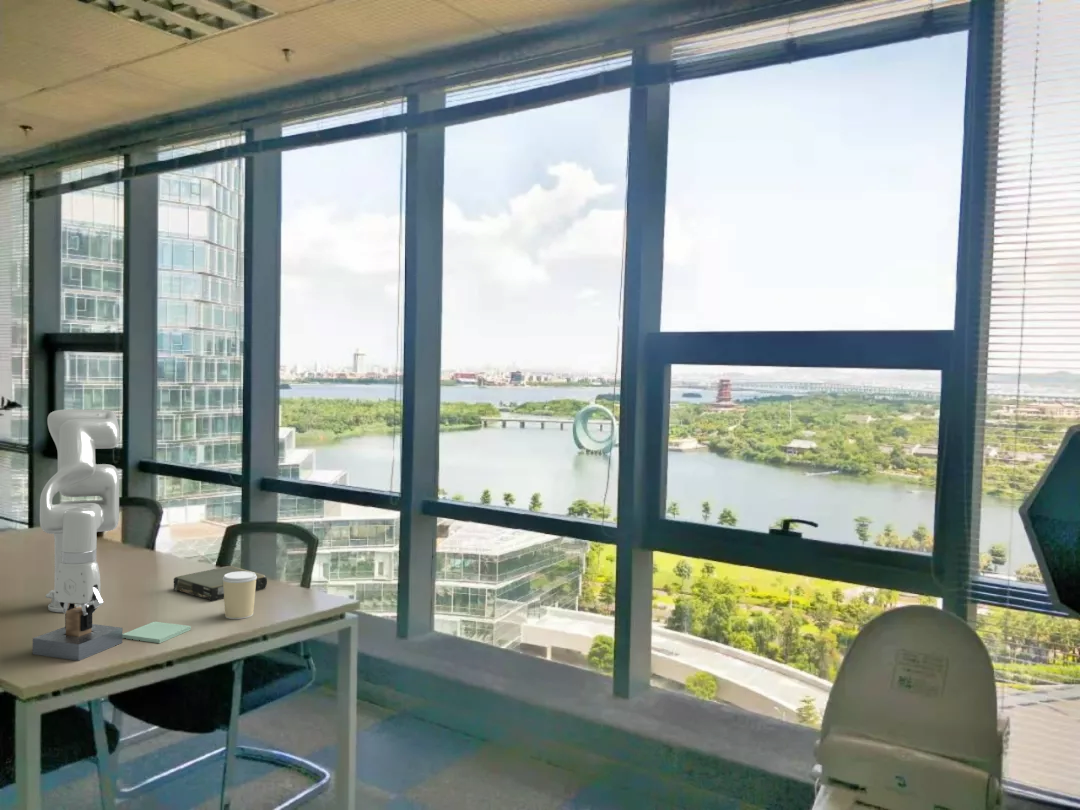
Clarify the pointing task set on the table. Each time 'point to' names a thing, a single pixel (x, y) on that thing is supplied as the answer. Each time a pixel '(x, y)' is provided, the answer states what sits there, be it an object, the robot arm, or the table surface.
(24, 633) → the table surface
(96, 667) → the table surface
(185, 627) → the green pad
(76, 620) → the walnut peg
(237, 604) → the coffee cup
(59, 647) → the hole block
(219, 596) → the network switch
